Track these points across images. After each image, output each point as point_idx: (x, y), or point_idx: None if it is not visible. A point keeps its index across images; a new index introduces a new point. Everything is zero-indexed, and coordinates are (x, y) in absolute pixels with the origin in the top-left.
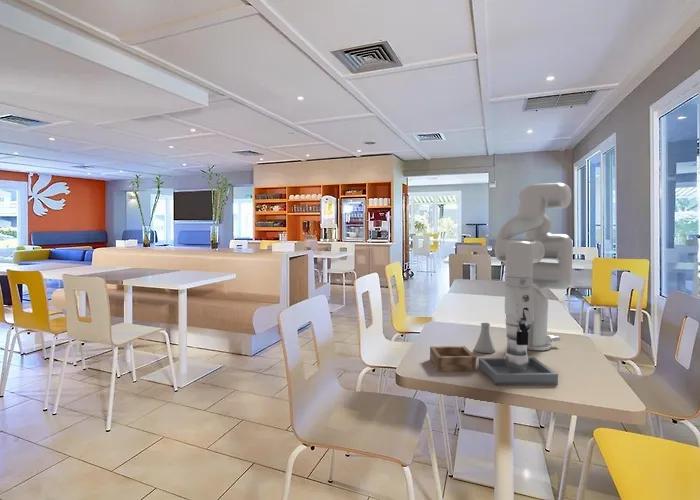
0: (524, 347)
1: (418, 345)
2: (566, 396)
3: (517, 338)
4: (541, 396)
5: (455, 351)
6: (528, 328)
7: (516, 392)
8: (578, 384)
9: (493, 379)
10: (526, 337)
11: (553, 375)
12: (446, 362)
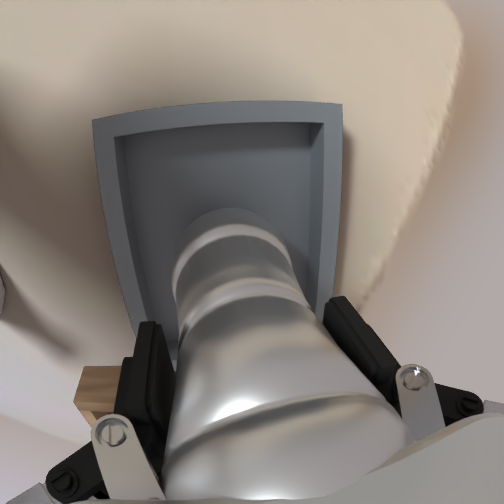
0: (301, 290)
1: (31, 425)
2: (407, 139)
3: None
4: (399, 218)
5: (102, 414)
6: (462, 396)
7: (365, 281)
8: (318, 27)
9: None
10: (385, 346)
11: (339, 125)
12: None
